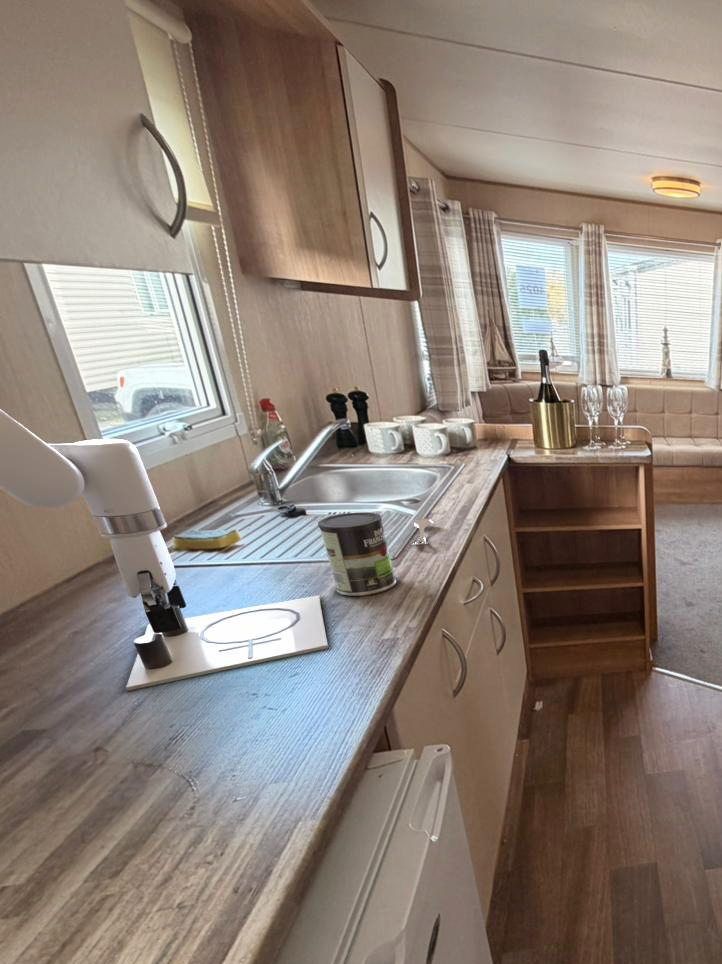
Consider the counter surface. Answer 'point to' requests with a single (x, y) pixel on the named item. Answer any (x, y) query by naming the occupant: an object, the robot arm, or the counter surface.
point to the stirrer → (421, 529)
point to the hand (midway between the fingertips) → (171, 619)
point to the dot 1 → (153, 651)
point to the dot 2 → (181, 621)
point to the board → (237, 640)
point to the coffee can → (357, 553)
